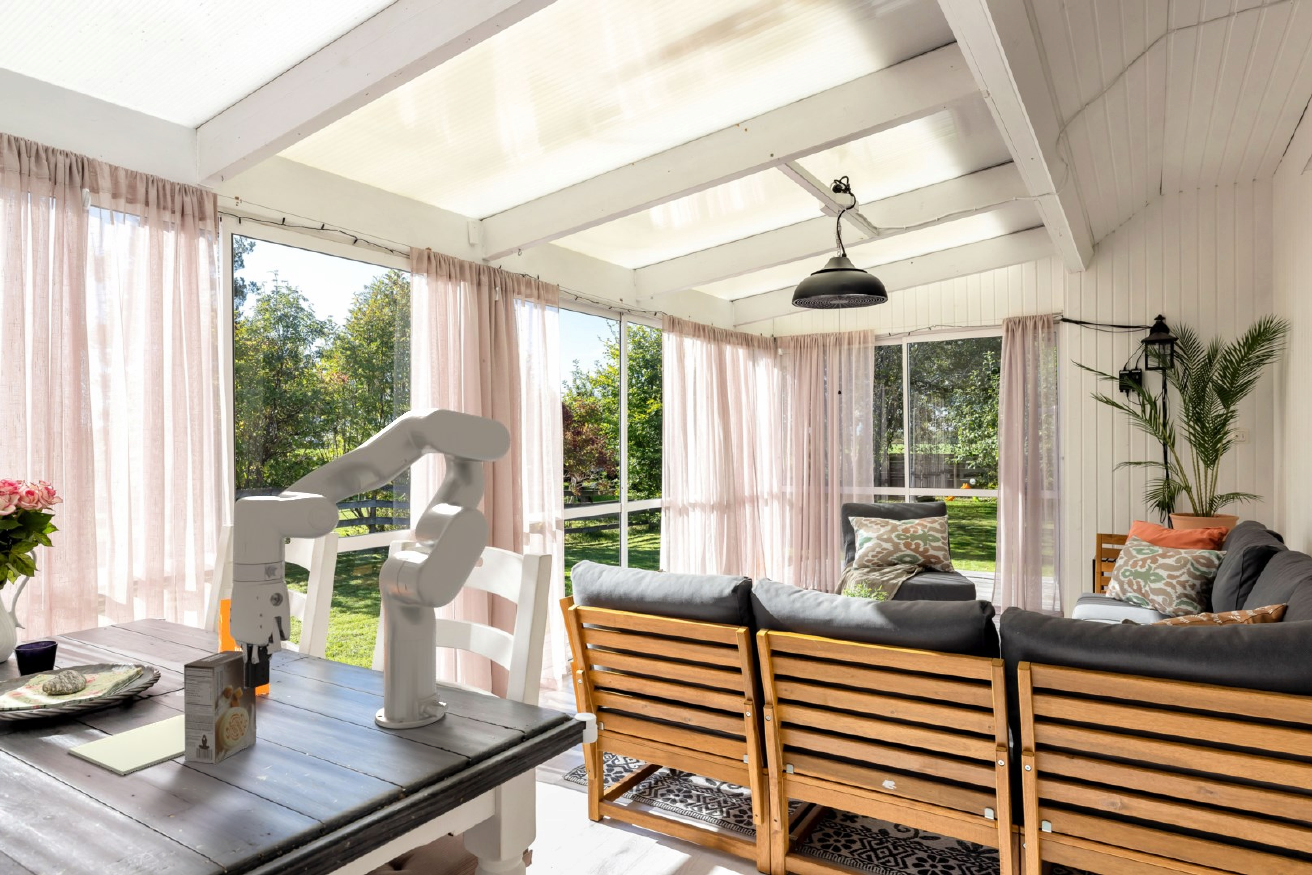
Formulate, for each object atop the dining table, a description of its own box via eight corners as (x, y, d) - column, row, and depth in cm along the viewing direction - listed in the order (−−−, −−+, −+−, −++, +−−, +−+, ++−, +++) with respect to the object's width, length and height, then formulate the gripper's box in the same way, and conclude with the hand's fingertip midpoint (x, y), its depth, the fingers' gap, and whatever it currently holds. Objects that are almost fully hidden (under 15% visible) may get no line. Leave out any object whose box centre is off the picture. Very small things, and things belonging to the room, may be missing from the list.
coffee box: (226, 739, 132) (226, 648, 132) (257, 743, 131) (257, 651, 131) (182, 761, 123) (182, 663, 124) (215, 765, 122) (215, 666, 122)
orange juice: (269, 693, 157) (269, 597, 157) (221, 701, 152) (221, 603, 152) (264, 683, 163) (264, 591, 164) (218, 691, 158) (218, 596, 159)
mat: (256, 729, 137) (256, 725, 137) (122, 775, 118) (122, 771, 118) (201, 711, 146) (201, 708, 146) (68, 752, 127) (68, 748, 127)
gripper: (308, 573, 122) (307, 686, 121) (253, 565, 129) (251, 672, 129) (265, 579, 115) (263, 699, 115) (209, 571, 123) (207, 684, 122)
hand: (257, 685), depth 122 cm, fingers closed
